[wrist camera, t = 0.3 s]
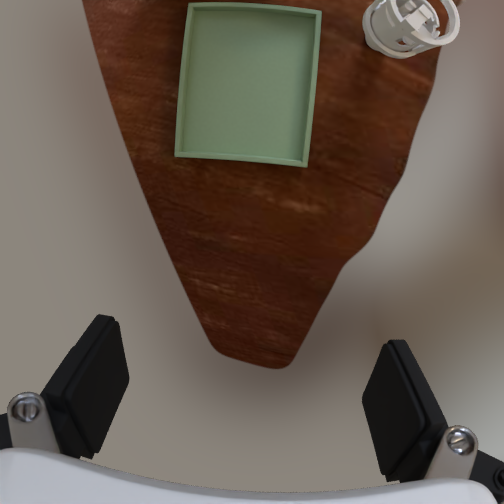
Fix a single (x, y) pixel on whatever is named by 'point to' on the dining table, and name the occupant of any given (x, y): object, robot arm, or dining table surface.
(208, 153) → the tray
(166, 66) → the dining table surface
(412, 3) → the white open cylindrical frame
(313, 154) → the dining table surface
